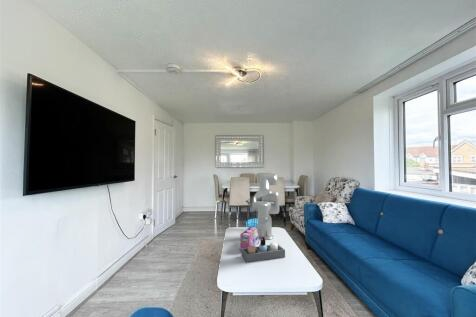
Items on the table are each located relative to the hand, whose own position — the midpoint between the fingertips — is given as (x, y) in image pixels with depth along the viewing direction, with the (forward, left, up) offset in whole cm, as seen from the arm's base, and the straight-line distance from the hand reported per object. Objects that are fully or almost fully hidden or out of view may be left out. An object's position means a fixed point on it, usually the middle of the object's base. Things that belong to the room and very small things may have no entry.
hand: (262, 244), depth 165 cm
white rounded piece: (0, +9, -6) cm, 11 cm away
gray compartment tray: (0, 0, -9) cm, 9 cm away
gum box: (-20, -3, -9) cm, 22 cm away
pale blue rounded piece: (0, 0, -6) cm, 6 cm away
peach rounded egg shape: (0, -9, -6) cm, 11 cm away
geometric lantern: (-62, +18, -9) cm, 65 cm away
